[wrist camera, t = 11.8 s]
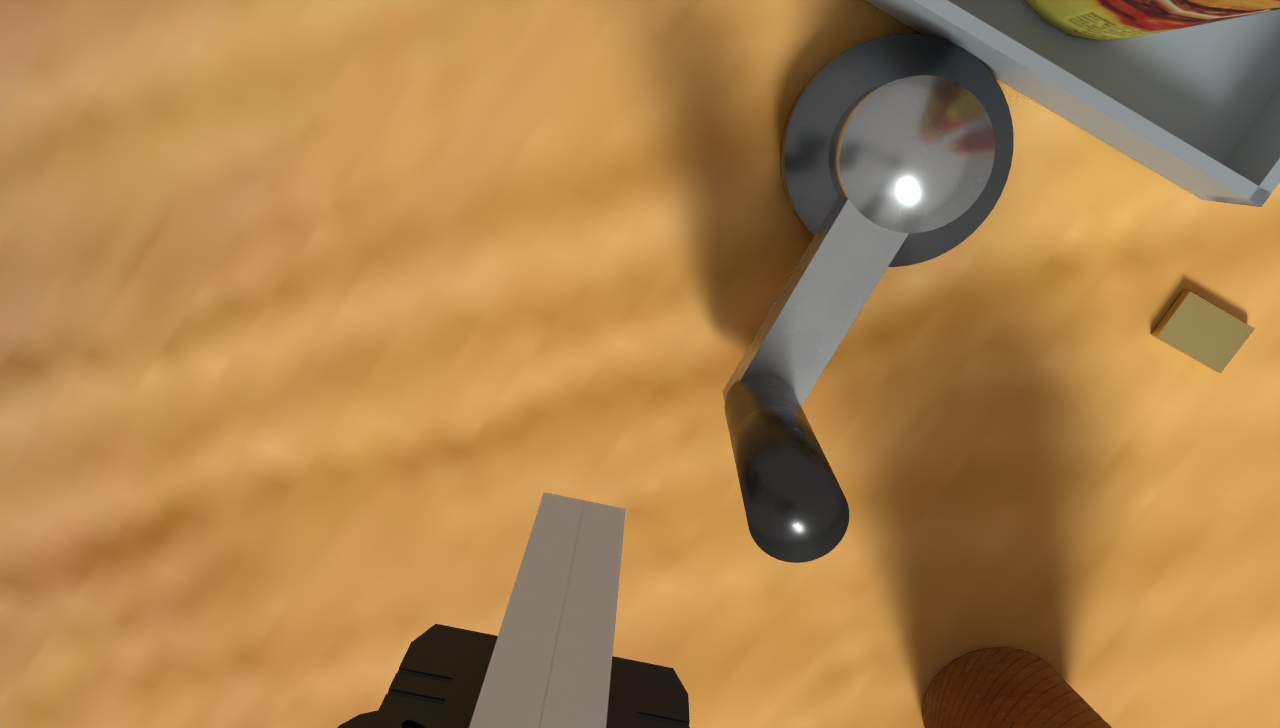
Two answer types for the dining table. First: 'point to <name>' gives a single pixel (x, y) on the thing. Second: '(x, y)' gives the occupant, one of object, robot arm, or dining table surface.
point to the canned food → (1138, 15)
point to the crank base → (849, 80)
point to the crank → (846, 294)
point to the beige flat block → (1202, 331)
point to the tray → (1139, 87)
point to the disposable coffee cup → (1005, 694)
